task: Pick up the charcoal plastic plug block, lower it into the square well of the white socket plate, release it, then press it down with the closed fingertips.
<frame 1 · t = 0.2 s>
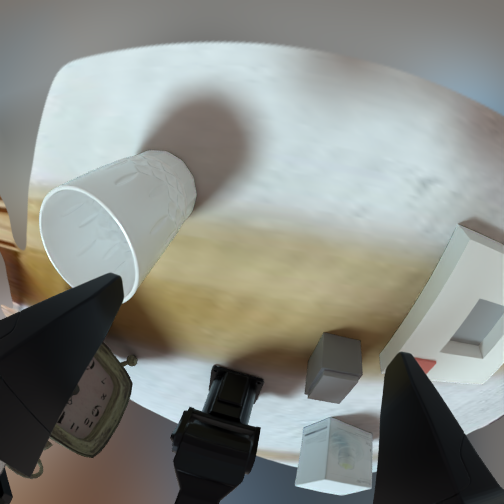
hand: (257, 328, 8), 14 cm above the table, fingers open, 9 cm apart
plug: (333, 351, 29), on the table
socket plate: (474, 315, 22), on the table
white cup: (161, 187, 23), on the table
tabletop clock: (102, 329, 36), on the table
skincare box: (339, 430, 38), on the table
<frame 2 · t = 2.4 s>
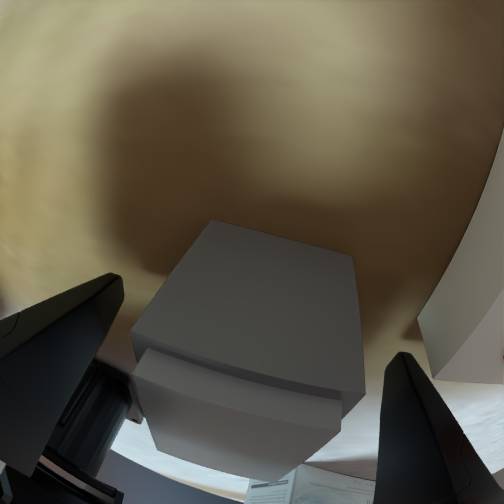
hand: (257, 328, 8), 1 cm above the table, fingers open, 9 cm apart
plug: (264, 303, 9), on the table
skincare box: (319, 477, 19), on the table
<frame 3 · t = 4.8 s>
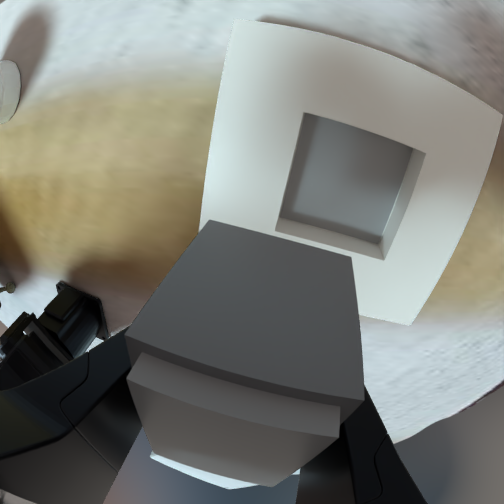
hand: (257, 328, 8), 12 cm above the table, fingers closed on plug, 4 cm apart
plug: (262, 305, 9), point 11 cm above the table, touching gripper
socket plate: (345, 179, 17), on the table
white cup: (6, 91, 17), on the table
skincare box: (225, 398, 32), on the table
when the fingers open (3 cm above the table, at t = 6.5 s): plug drops 1 cm, resting on socket plate.
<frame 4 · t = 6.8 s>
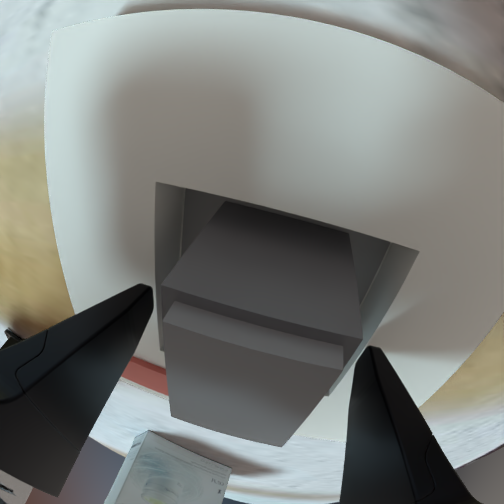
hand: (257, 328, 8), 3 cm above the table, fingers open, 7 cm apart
plug: (270, 279, 10), point 1 cm above the table, touching socket plate
socket plate: (273, 271, 11), on the table
skincare box: (182, 452, 27), on the table
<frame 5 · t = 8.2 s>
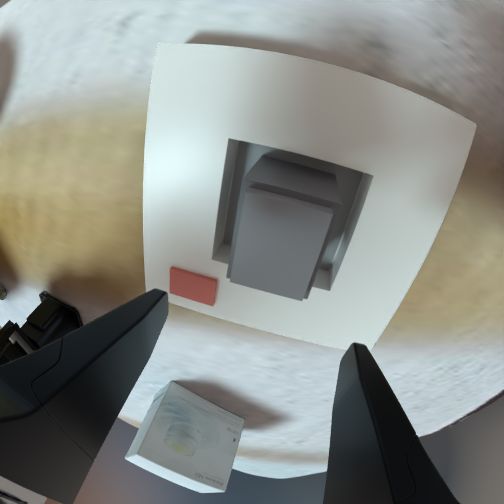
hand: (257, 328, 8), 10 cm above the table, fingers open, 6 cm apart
plug: (288, 206, 16), point 1 cm above the table, touching socket plate
socket plate: (289, 203, 17), on the table
skincare box: (199, 405, 32), on the table
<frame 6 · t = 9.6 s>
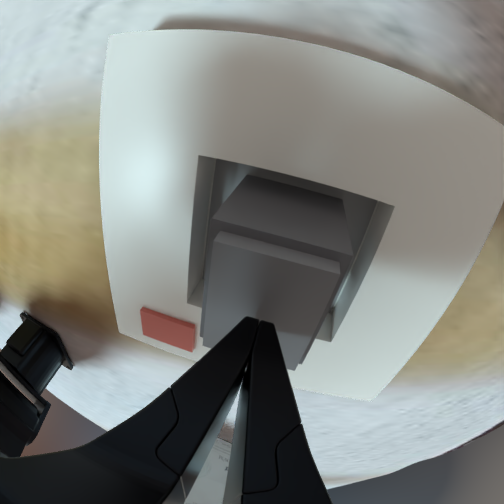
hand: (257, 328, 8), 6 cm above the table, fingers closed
plug: (281, 238, 13), point 1 cm above the table, touching socket plate
socket plate: (283, 233, 13), on the table
skincare box: (190, 431, 29), on the table
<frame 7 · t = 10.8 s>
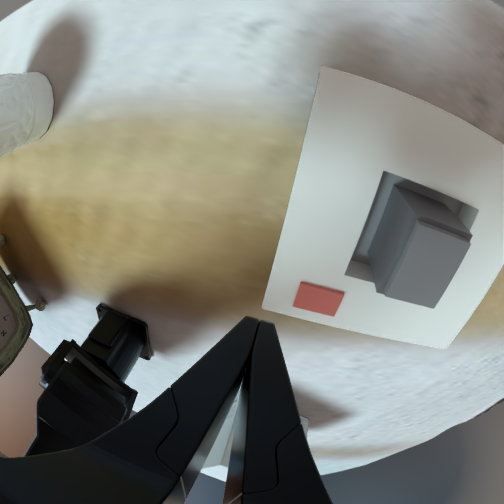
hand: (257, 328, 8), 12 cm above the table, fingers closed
plug: (406, 228, 17), point 1 cm above the table, touching socket plate
socket plate: (404, 224, 18), on the table
white cup: (35, 105, 18), on the table
tabletop clock: (18, 272, 32), on the table
skincare box: (264, 409, 33), on the table
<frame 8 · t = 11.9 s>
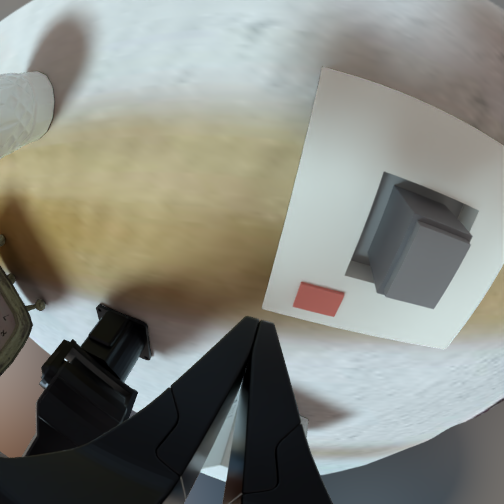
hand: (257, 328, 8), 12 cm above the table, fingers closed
plug: (406, 228, 17), point 1 cm above the table, touching socket plate
socket plate: (404, 225, 18), on the table
white cup: (35, 105, 18), on the table
tabletop clock: (18, 272, 32), on the table
skincare box: (264, 409, 33), on the table
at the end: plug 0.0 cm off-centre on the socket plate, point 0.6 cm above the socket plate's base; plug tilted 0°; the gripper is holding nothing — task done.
